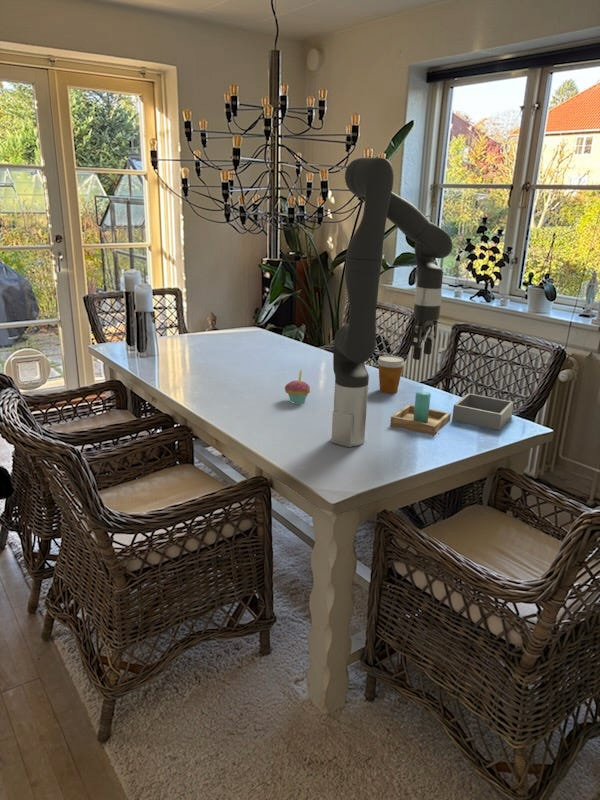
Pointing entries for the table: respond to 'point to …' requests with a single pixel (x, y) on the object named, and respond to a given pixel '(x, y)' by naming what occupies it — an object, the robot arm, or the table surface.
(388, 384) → the disposable coffee cup
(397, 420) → the tray
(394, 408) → the table surface
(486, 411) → the deep bin
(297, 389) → the cupcake
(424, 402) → the peg
